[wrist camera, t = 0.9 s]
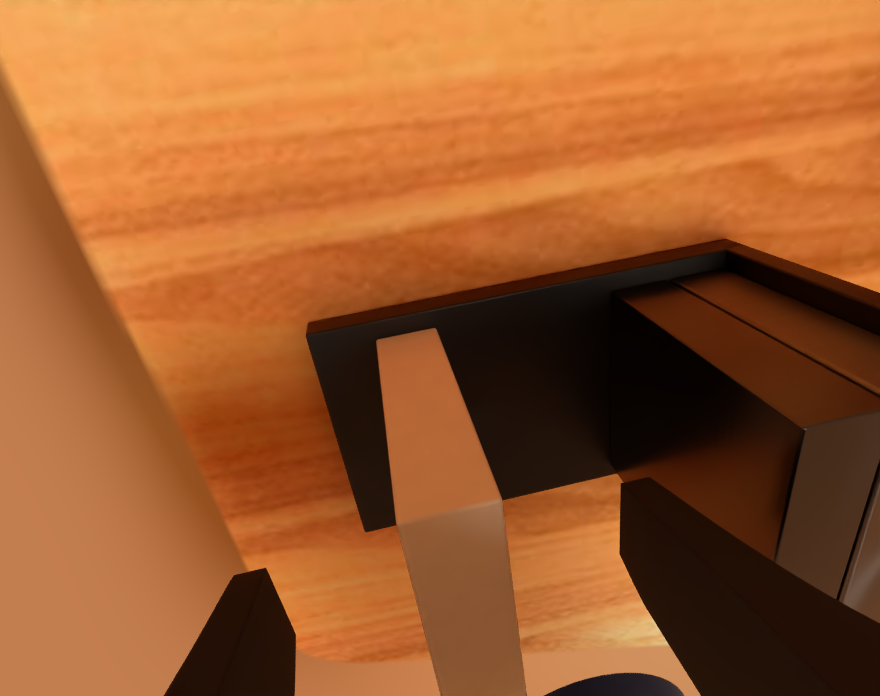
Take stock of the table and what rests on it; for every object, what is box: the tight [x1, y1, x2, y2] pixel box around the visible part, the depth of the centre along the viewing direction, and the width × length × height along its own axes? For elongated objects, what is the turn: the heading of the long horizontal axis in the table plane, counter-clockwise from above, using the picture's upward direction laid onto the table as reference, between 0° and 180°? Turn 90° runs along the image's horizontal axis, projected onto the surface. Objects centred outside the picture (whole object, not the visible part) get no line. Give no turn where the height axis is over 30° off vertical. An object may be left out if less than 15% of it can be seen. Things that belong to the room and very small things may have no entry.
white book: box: [376, 328, 527, 696], centre depth 12 cm, size 2×6×6 cm, turn 9°
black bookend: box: [306, 239, 880, 623], centre depth 12 cm, size 12×7×7 cm, turn 99°
